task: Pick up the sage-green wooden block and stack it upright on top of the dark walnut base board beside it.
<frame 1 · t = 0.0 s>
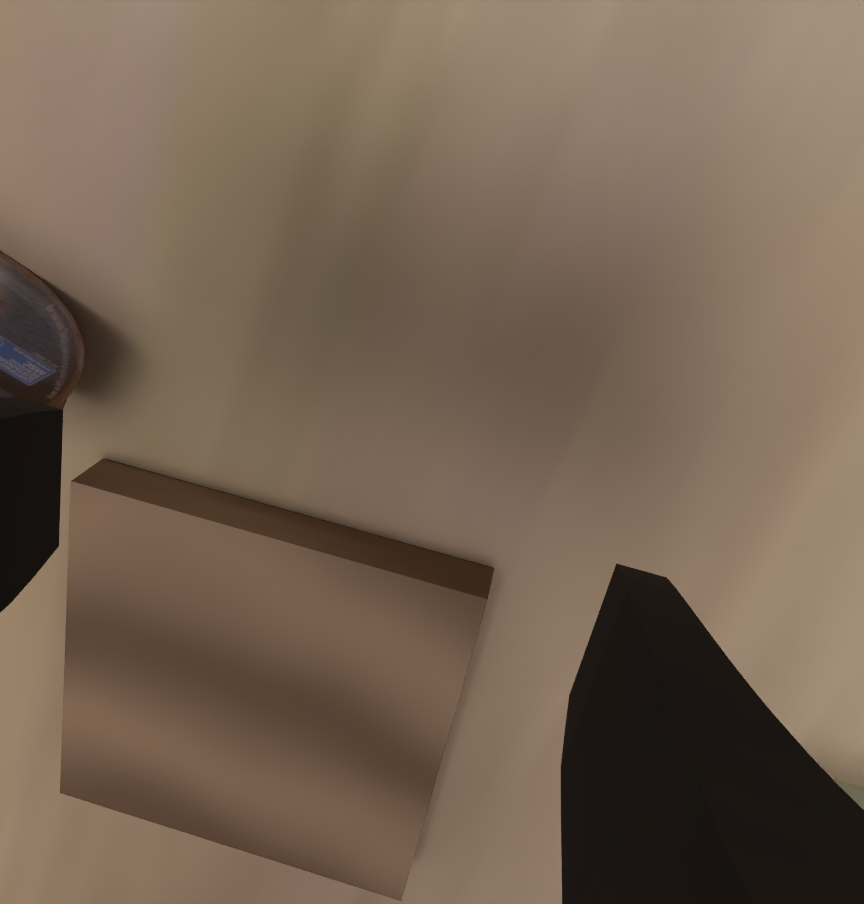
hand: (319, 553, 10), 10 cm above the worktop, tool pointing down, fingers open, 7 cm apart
base: (268, 673, 24), on the worktop
block: (812, 834, 23), on the worktop
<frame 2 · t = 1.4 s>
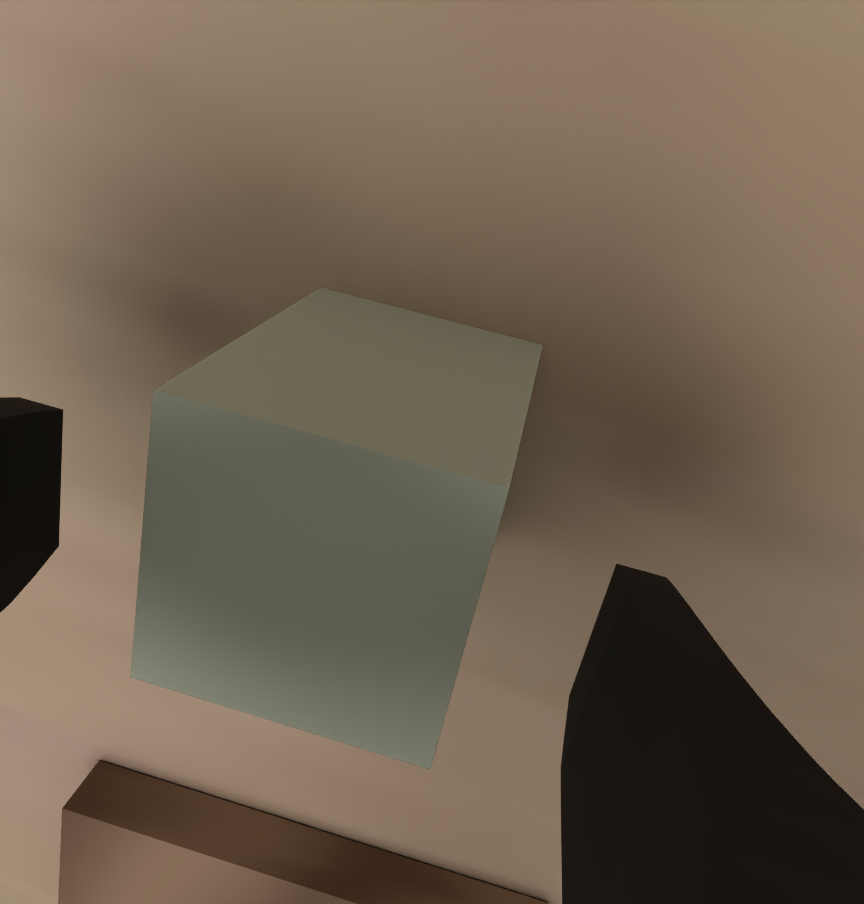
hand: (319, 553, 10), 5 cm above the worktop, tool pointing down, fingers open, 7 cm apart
block: (407, 420, 15), on the worktop
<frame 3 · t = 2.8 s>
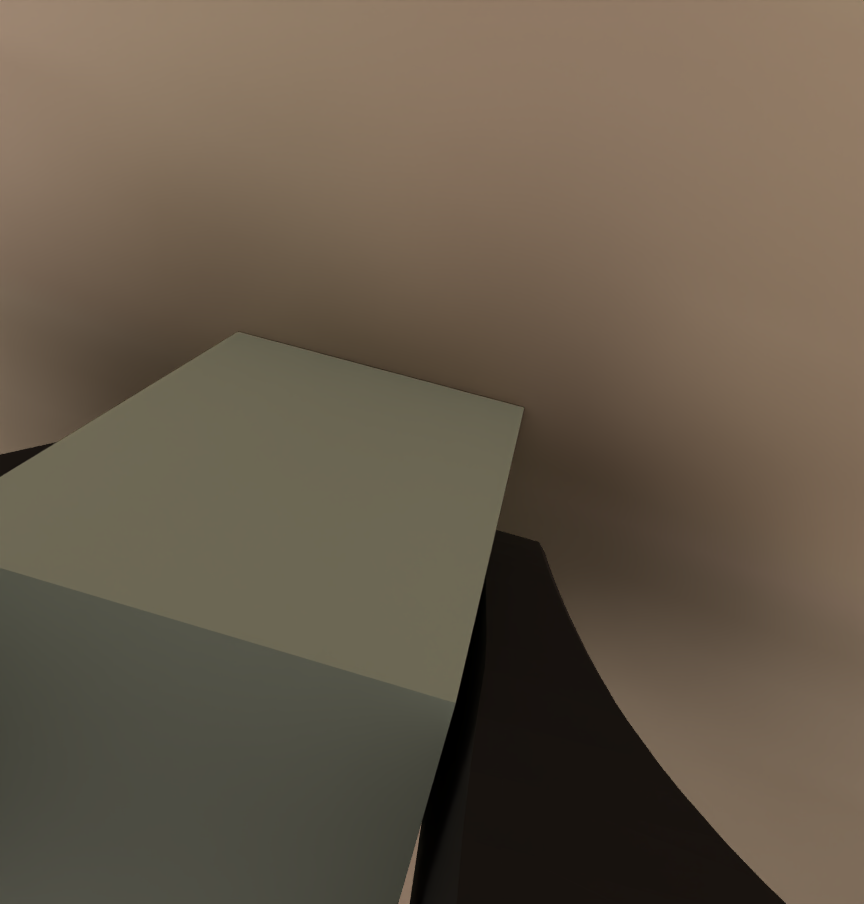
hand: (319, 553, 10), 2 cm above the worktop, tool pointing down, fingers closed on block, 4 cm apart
block: (353, 498, 12), on the worktop, touching gripper
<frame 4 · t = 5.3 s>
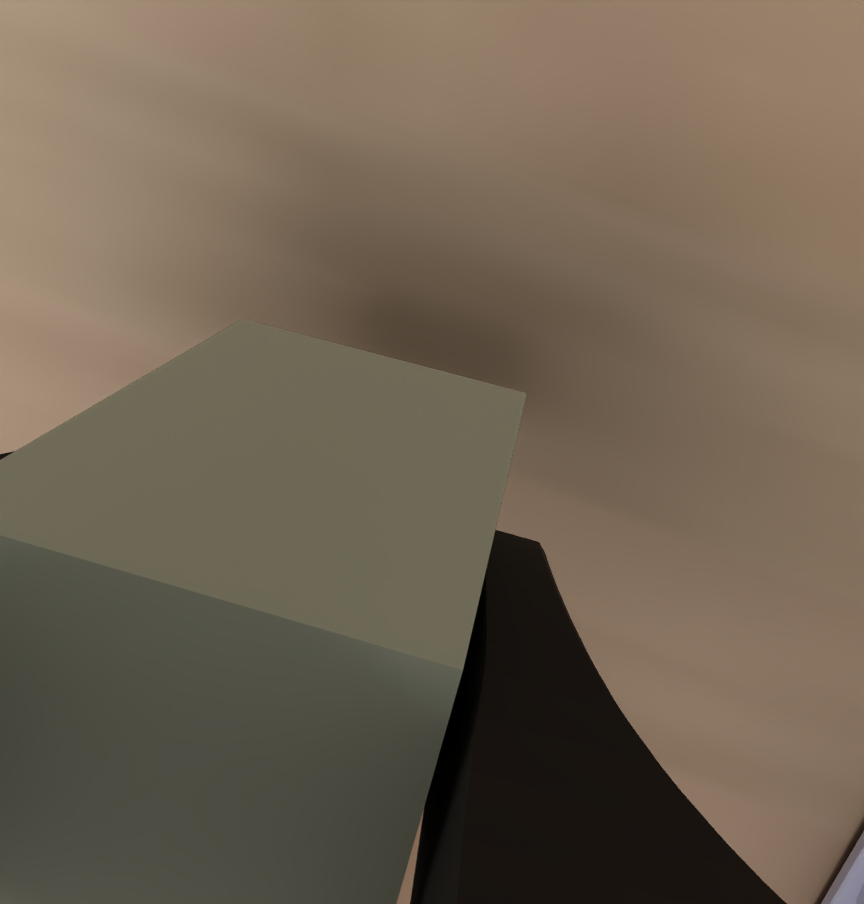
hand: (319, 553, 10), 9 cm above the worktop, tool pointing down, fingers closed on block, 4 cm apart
base: (340, 792, 23), on the worktop
block: (357, 485, 12), point 7 cm above the worktop, touching gripper
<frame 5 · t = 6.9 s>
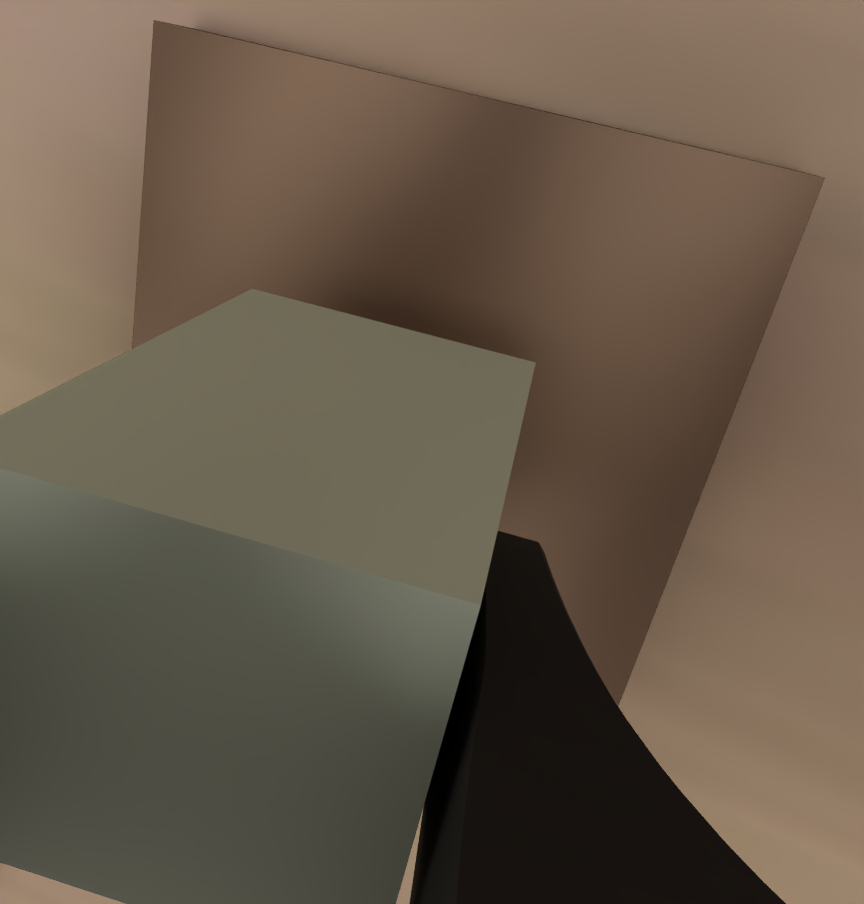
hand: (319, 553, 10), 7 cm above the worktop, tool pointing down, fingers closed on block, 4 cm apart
base: (424, 387, 17), on the worktop
block: (365, 456, 12), point 5 cm above the worktop, touching gripper
when the fingers open (5 cm above the worktop, at t = 7.8 s): block drops 1 cm, resting on base.
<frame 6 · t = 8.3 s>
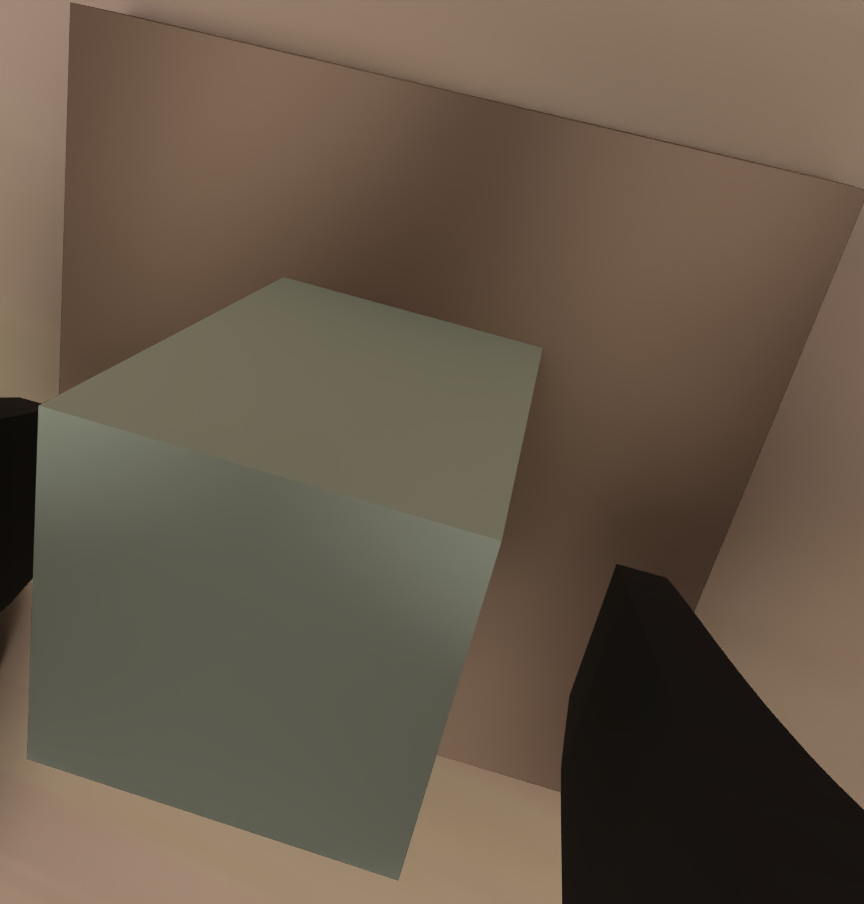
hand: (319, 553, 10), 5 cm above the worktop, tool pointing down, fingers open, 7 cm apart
base: (398, 427, 15), on the worktop
block: (384, 433, 13), point 1 cm above the worktop, touching base
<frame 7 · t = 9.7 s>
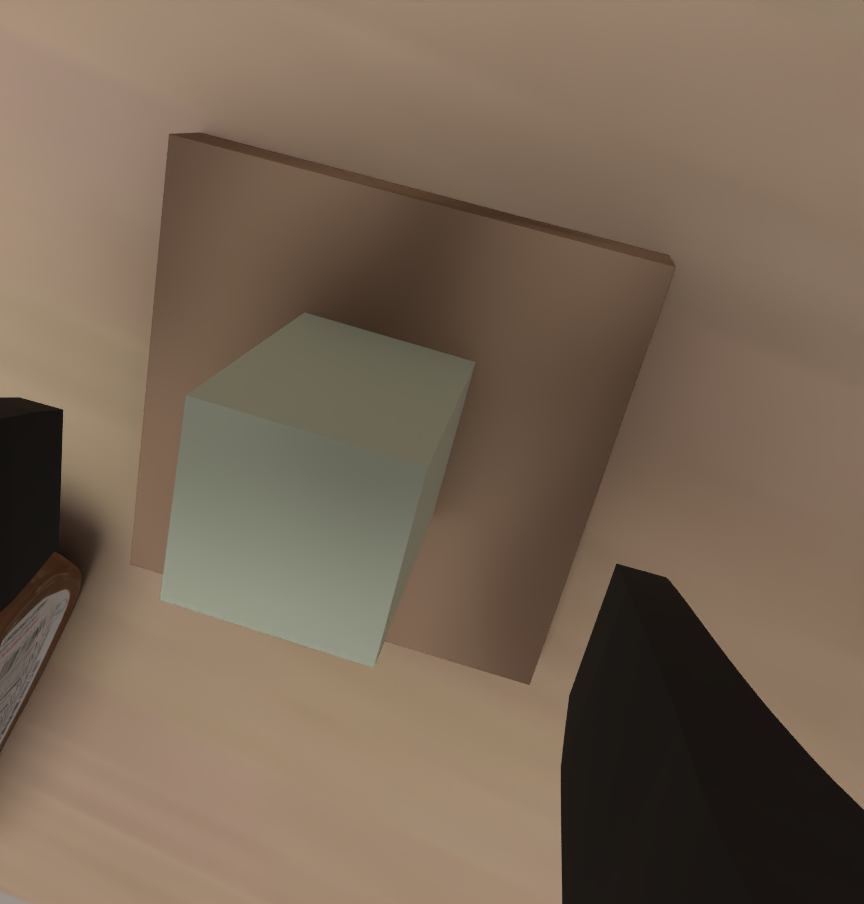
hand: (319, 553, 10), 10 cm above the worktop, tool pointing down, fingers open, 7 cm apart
base: (381, 414, 21), on the worktop
tin: (13, 664, 27), on the worktop
block: (370, 417, 19), point 1 cm above the worktop, touching base
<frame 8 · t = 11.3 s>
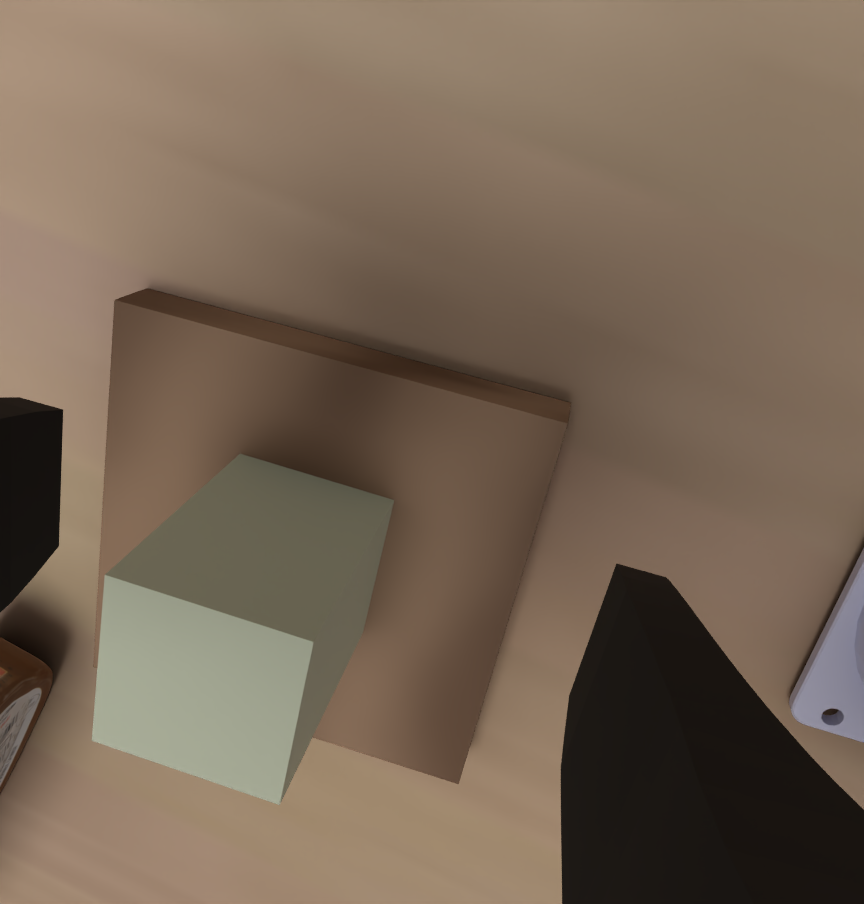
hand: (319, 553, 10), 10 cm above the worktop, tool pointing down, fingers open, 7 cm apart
base: (318, 534, 23), on the worktop
block: (303, 545, 21), point 1 cm above the worktop, touching base
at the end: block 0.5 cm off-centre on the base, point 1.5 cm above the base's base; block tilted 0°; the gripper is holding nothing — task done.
